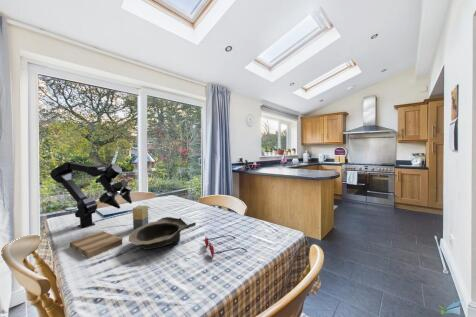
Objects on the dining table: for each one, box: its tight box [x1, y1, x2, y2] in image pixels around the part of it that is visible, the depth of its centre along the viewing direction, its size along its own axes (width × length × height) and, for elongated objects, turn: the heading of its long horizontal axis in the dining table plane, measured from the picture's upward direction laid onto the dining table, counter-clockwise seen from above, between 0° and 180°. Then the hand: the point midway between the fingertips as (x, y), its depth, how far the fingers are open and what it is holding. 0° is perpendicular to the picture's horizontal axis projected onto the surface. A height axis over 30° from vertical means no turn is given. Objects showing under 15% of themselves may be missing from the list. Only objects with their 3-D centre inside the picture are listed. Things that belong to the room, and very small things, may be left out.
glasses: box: [202, 234, 247, 259], centre depth 92 cm, size 14×16×5 cm
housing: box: [132, 204, 149, 231], centre depth 115 cm, size 6×6×12 cm
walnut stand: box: [69, 230, 124, 259], centre depth 95 cm, size 18×14×2 cm
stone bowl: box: [128, 216, 188, 250], centre depth 96 cm, size 25×25×9 cm
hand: (125, 205), depth 114 cm, fingers open, 9 cm apart
